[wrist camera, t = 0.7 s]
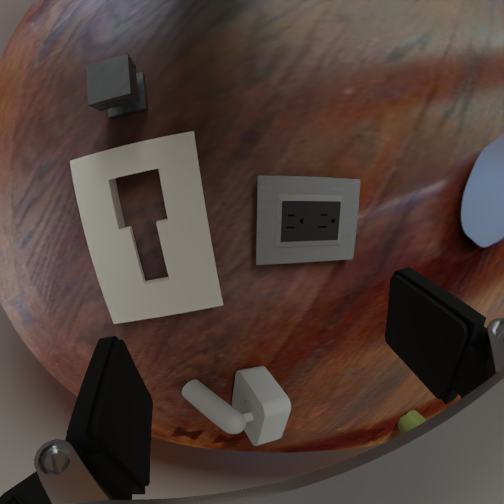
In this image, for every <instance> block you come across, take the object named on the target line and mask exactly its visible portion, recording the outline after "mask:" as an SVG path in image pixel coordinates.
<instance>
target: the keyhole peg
mask: <svg viewBox="0 0 504 504" xmlns="http://www.w3.org/2000/svg"><path fill="white" fill-rule="evenodd" d="M86 81H87V96H88V105H89V106H91V107H93V108H95V109H98V110H100V111H104V110H108V117H109V118H111V119H113V118H117V117H120V116H124V115H128V114H132V113H136V112H141V111H145V110H148V104H147V95H146V86H145V75H144V74H143V72H140V73H136V66H135V64H134V63H133V61H132V59H131V58H130V56H129V55H128V54H124V55H120V56H116V57H113V58H109V59H106V60H103V61H99V62H96V63H93V64H90V65H87V66H86Z"/></svg>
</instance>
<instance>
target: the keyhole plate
mask: <svg viewBox="0 0 504 504" xmlns="http://www.w3.org/2000/svg"><path fill="white" fill-rule="evenodd" d="M70 166H71V172H72V178H73V183H74V188H75V194H76V198H77V203H78V208H79V212H80V217H81V221H82V225H83V229H84V233H85V237H86V240H87V244H88V248H89V251H90V255H91V258H92V262H93V265H94V268H95V272H96V275H97V278H98V281H99V284H100V287H101V290H102V293H103V296H104V299H105V301H106V304H107V307H108V310H109V312H110V315H111V318H112V320H113V323H114V324H118V323H125V322H131V321H138V320H144V319H150V318H156V317H162V316H168V315H174V314H180V313H185V312H191V311H197V310H202V309H207V308H213V307H218V306H223V301H222V296H221V290H220V285H219V280H218V275H217V269H216V264H215V259H214V253H213V248H212V242H211V236H210V231H209V225H208V219H207V213H206V207H205V201H204V195H203V188H202V182H201V176H200V169H199V162H198V156H197V149H196V142H195V135H194V131H191V132H185V133H180V134H174V135H169V136H164V137H159V138H154V139H150V140H145V141H141V142H137V143H132V144H128V145H124V146H120V147H116V148H112V149H109V150H105V151H101V152H98V153H94V154H91V155H87V156H84V157H81V158H77V159H74V160H71V161H70ZM153 169H159V175H160V181H161V187H162V192H163V198H164V203H165V208H166V214H167V219H163V220H158V221H157V222H156V225H157V229H158V234H159V238H160V243H161V247H162V252H163V256H164V260H165V264H166V268H167V272H168V276H169V277H164V278H159V279H153V280H148V281H146V280H145V277H144V273H143V269H142V266H141V262H140V258H139V254H138V250H137V246H136V242H135V238H134V234H133V229H132V226H129V227H125V222H124V218H123V213H122V209H121V204H120V199H119V194H118V189H117V184H116V178H118V177H123V176H127V175H131V174H135V173H140V172H144V171H149V170H153Z"/></svg>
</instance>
